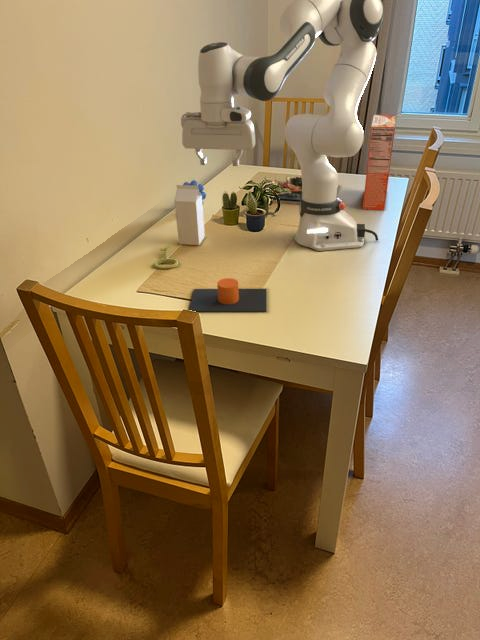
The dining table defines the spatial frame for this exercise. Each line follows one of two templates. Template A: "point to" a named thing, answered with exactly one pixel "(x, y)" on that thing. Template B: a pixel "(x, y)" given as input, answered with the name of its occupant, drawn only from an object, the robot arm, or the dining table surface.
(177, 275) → the dining table surface
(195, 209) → the milk carton
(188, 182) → the grapes
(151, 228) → the dining table surface
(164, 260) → the key
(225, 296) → the cylinder
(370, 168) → the red cereal box
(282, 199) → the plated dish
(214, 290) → the mat
